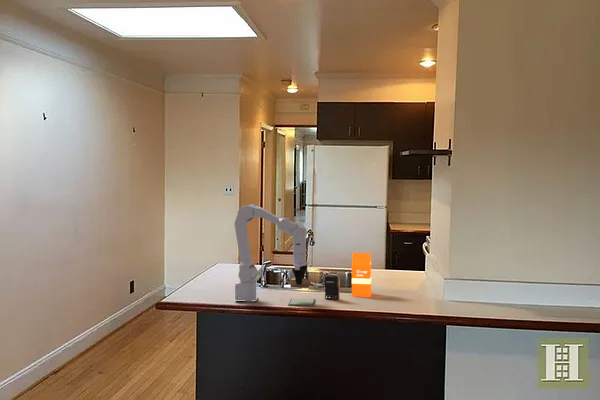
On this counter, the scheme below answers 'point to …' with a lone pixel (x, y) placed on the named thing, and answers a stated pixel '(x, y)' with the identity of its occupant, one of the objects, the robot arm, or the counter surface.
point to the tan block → (304, 284)
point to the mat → (302, 302)
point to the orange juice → (361, 274)
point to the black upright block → (332, 287)
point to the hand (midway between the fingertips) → (300, 283)
